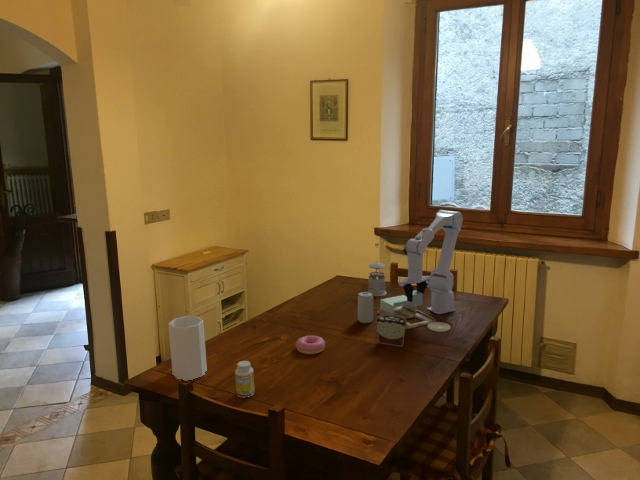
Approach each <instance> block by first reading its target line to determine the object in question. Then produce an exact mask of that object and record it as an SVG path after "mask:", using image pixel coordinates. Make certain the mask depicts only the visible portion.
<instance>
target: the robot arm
mask: <svg viewBox="0 0 640 480" xmlns="http://www.w3.org/2000/svg"><path fill="white" fill-rule="evenodd" d="M463 221H464V217H463V215H462V213H461V212H460V211H453V210H444V209H439V210H438V211H437V212H436V214H435V219H434V220H433V221H432V222H431V224H430V225H429V227H425V228H422V230H421V231H420V232H418V233H417V234H416V235H415V237H414V238H410V239H408V240H407V242H406V243H405V251H406V255H407V257H408V261H407V262H408V264H407V265H408V267H407V278H403V279H401V280H399V281H398V286H400V287H401V288H403V290H404V292H405V296H407V301H409V302H412V294H413V291H414V290H415V289H414V288H415V286H412V285H413V284H414V285H415V284H416V290H417V291H419V292H421V293H423V295H424V293H425V291H426V289H427V288H429V290H430V291H431V306H429V307H427V308H426V309H427V310H429V311H430V312H433V313H435V314H437V315H441V314H446V313H447V314H448V313H450V312H455V311H456V309H455V294H454V292H453V291H452V289H454V278H455V276H454V274H453V273H452V272H451V271H450V268H451V266H452V265H451V264H452V260H453V256H454V253H455V247H456V243H457V239H458V236H459V233H460V232H461V230H462V225H463V223H464V222H463ZM441 229H442V230H443V231H444V238H443V242H442V247H441V251H440V255H439V260H438V262H437V267H436V268H434V269H432V270H431V272H430V275H423V267H424V265H423V262H424V254H425V253H426V251H427V248H428V245H429V244H430V243H431V242H432V241H433V240H434V238H435V234H436V233H437V232H438V231H439V230H441Z"/></svg>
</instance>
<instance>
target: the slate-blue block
mask: <svg viewBox="0 0 640 480" xmlns="http://www.w3.org/2000/svg"><path fill="white" fill-rule="evenodd" d="M423 296H424V294H423V293H421V292H419V291H417V289H416V290H415V289H414V290H413V294H412V302H409V301H407V304H409V305H411V306H413V307H414V306H417V307H419V306H423V301H424V300H423Z"/></svg>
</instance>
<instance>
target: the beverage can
mask: <svg viewBox="0 0 640 480" xmlns="http://www.w3.org/2000/svg"><path fill="white" fill-rule="evenodd" d="M357 321H358V322H359V323H360V324H370V323H371V322H373V321H374V296H372V293H369V292H368V291H363V292H358V296H357Z"/></svg>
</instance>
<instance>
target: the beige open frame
mask: <svg viewBox="0 0 640 480" xmlns="http://www.w3.org/2000/svg"><path fill="white" fill-rule="evenodd" d="M376 313H377V314H378V315H379V316H380V315H384V314H388V313H386V312H384V311H382V310H380V308H379V309H378V310H377V312H376ZM394 314H395V315H400V316H402V317H404V318H405V319H406V320H407V319H411V318H416V319H418V320H420V321H419V322H414V323H410V322H408V321H407V327H405V330H409V329H413V328H417V327H423V326H425V325H427V326H428V324H429V323H433V322H437V320H436V319H435V318H436V317H432V316H431V315H428V314H426V312H423V311H421V310H419V309H417V312H414V311H412V310H410V309H408V308H406V307H404V306H397V307H394Z"/></svg>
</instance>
